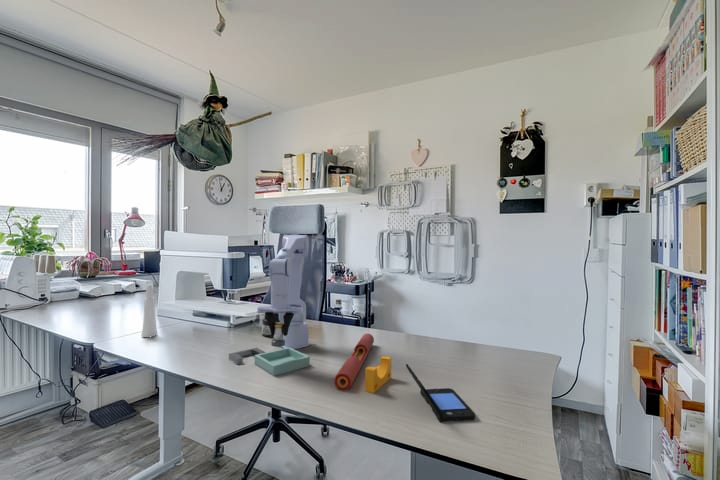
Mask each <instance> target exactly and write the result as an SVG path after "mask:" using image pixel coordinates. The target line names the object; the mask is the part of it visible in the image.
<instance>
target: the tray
mask: <svg viewBox="0 0 720 480" xmlns="http://www.w3.org/2000/svg"><path fill="white" fill-rule="evenodd" d="M265 352H266V351H265ZM310 359H311V357H310V356H309V355H307V354H305V353H303V352H301V351H298V350H297V349H292V348H290V347H288V348H280V349H276V350H272V351H268V352H266V353H262V354H258V355H254V365H256V366H257V367H258V368H259V369H261V370H263V371H265V372H266V373H268V374H269V375H271V376H272V377H273V376H274V377H275V376H279V375H282V374H285V373H289V372H291V371H296V370H300V369H302V368H303V369H304V368H307V367H310V366H311V364H310V363H311V361H310Z"/></svg>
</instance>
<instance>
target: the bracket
mask: <svg viewBox="0 0 720 480" xmlns="http://www.w3.org/2000/svg"><path fill="white" fill-rule="evenodd" d="M262 353H266V351H264V350H262V349H261V348H258V347H253V348H250V349H245V350H244V349H243V350H239V351H235V352H231V353H228V360H230V361H232V362H233V364H235V365H240V364H243V363H244V359H243V357H249V356H255V355H258V354H262Z"/></svg>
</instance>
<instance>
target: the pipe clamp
mask: <svg viewBox="0 0 720 480" xmlns="http://www.w3.org/2000/svg"><path fill="white" fill-rule="evenodd" d="M364 373H365V374H364V375H365V384H364V386H365V387H364V390H365V392H366V393H370V394H375V393H376V392H377V391H378V390H379V389H380V388H382V386H384V385H385V384H386V383H388V381H390V380H391V378H392V357H390V356H386V355H383V356H382V357H380V363H379V365H376V366H375V367H373V366H367V367H365V372H364Z"/></svg>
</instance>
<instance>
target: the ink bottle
mask: <svg viewBox="0 0 720 480" xmlns="http://www.w3.org/2000/svg"><path fill="white" fill-rule="evenodd" d="M265 315H266V313H264V316H265ZM276 322H280V321H279V313H276V319H275V323H276ZM261 335H262V336H263V337H267V338H274V335H273V336H271V331H270V328H269V325H268V323H267V321H266V319H265V317H264V318H263V319H262V321H261Z"/></svg>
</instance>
